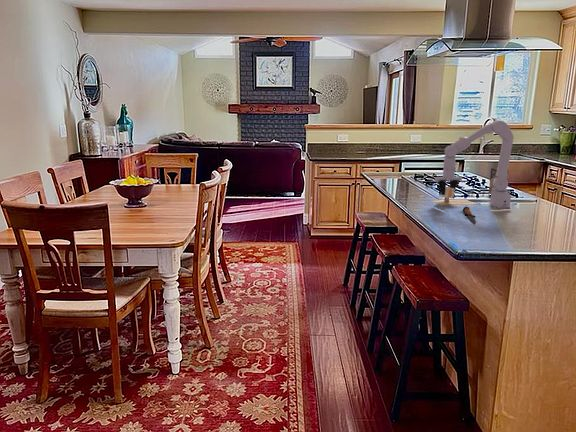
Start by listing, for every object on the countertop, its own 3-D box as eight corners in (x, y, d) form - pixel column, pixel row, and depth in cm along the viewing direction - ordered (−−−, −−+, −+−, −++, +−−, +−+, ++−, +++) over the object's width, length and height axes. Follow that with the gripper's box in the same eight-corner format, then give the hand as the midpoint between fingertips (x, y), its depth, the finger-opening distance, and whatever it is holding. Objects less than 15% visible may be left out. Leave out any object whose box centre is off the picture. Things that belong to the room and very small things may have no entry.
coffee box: (487, 195, 265) (490, 168, 262) (498, 195, 265) (501, 168, 261) (494, 198, 256) (497, 170, 253) (505, 198, 256) (508, 170, 253)
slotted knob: (440, 196, 241) (441, 186, 240) (448, 195, 242) (448, 186, 241) (445, 198, 236) (446, 188, 235) (453, 197, 237) (454, 188, 235)
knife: (482, 223, 196) (471, 220, 197) (480, 230, 197) (468, 227, 198) (472, 207, 220) (461, 205, 220) (470, 213, 221) (459, 211, 221)
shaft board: (478, 206, 235) (479, 197, 234) (443, 207, 231) (444, 199, 230) (461, 200, 250) (462, 192, 249) (428, 201, 246) (429, 193, 245)
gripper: (440, 170, 230) (438, 196, 234) (466, 169, 233) (463, 195, 236) (433, 168, 237) (431, 193, 240) (458, 167, 240) (456, 192, 243)
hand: (447, 194), depth 239 cm, fingers closed on slotted knob, 4 cm apart
